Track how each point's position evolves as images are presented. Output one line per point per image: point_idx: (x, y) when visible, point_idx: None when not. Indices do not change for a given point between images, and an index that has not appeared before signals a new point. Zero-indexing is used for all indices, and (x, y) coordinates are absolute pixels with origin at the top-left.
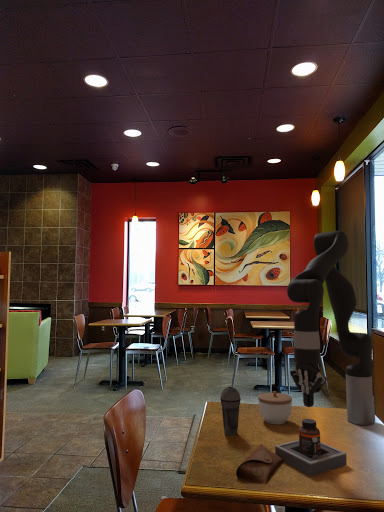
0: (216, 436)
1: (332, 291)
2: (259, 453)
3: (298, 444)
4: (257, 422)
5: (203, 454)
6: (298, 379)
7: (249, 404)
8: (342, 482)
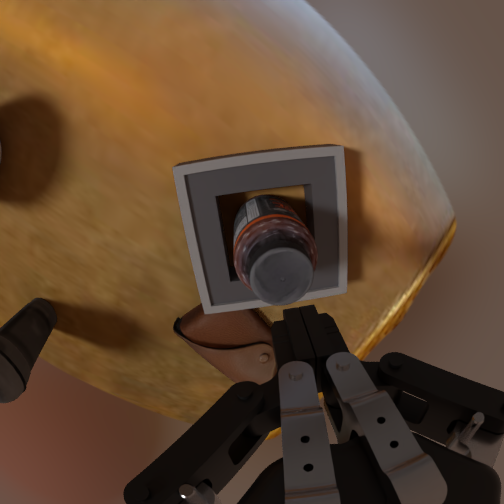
0: (62, 347)
1: None
2: (242, 369)
3: (212, 239)
4: None
5: (153, 402)
6: (227, 468)
7: None
8: (389, 229)
